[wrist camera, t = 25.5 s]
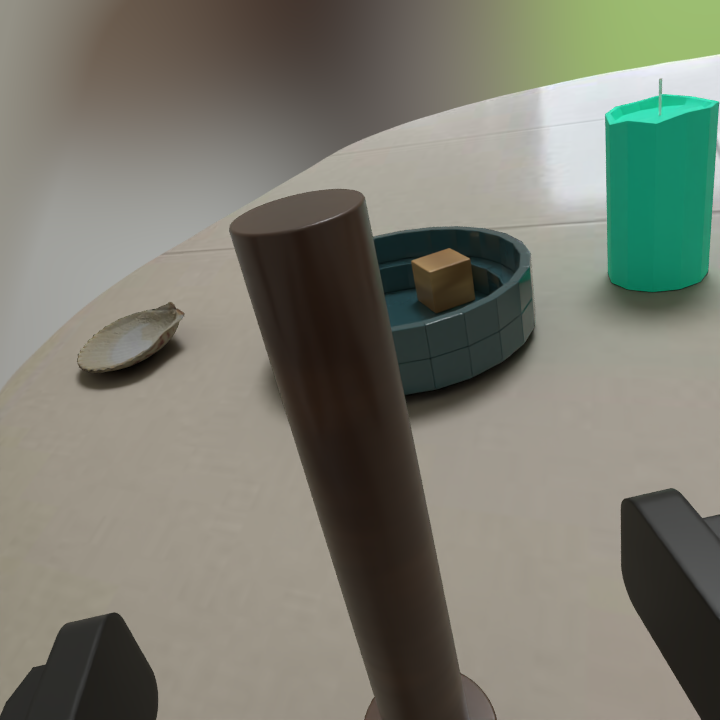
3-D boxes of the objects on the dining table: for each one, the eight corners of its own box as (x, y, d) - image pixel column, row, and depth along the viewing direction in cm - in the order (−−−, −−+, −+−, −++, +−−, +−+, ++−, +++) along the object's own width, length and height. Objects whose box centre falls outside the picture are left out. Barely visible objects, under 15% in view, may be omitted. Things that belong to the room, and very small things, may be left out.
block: (436, 314, 41) (429, 272, 40) (417, 300, 44) (410, 260, 42) (476, 300, 42) (470, 258, 41) (455, 287, 45) (449, 247, 43)
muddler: (393, 865, 16) (177, 274, 8) (363, 728, 19) (188, 212, 11) (528, 817, 16) (440, 205, 8) (476, 691, 19) (379, 163, 12)
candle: (613, 256, 45) (611, 78, 39) (708, 254, 42) (720, 61, 37) (602, 292, 41) (597, 96, 35) (707, 291, 38) (721, 79, 32)
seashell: (96, 376, 49) (89, 397, 42) (73, 343, 49) (63, 358, 41) (188, 324, 51) (198, 335, 44) (169, 291, 50) (175, 297, 43)
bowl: (312, 440, 33) (290, 366, 30) (270, 326, 47) (253, 270, 45) (590, 349, 35) (587, 274, 33) (469, 266, 49) (462, 210, 47)
